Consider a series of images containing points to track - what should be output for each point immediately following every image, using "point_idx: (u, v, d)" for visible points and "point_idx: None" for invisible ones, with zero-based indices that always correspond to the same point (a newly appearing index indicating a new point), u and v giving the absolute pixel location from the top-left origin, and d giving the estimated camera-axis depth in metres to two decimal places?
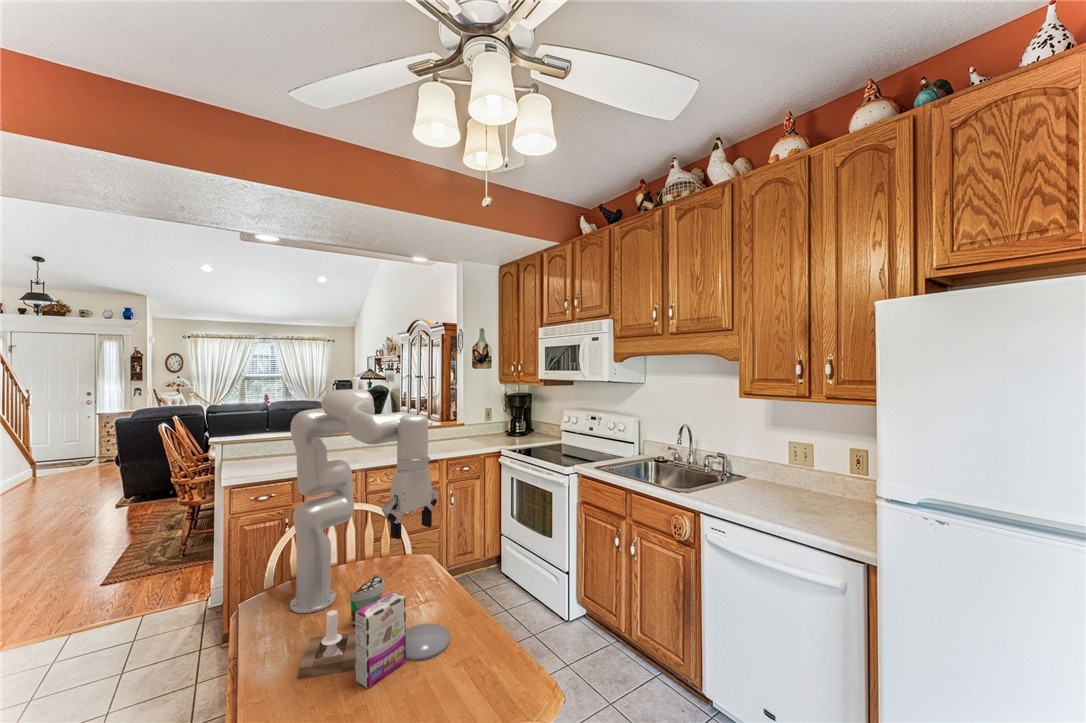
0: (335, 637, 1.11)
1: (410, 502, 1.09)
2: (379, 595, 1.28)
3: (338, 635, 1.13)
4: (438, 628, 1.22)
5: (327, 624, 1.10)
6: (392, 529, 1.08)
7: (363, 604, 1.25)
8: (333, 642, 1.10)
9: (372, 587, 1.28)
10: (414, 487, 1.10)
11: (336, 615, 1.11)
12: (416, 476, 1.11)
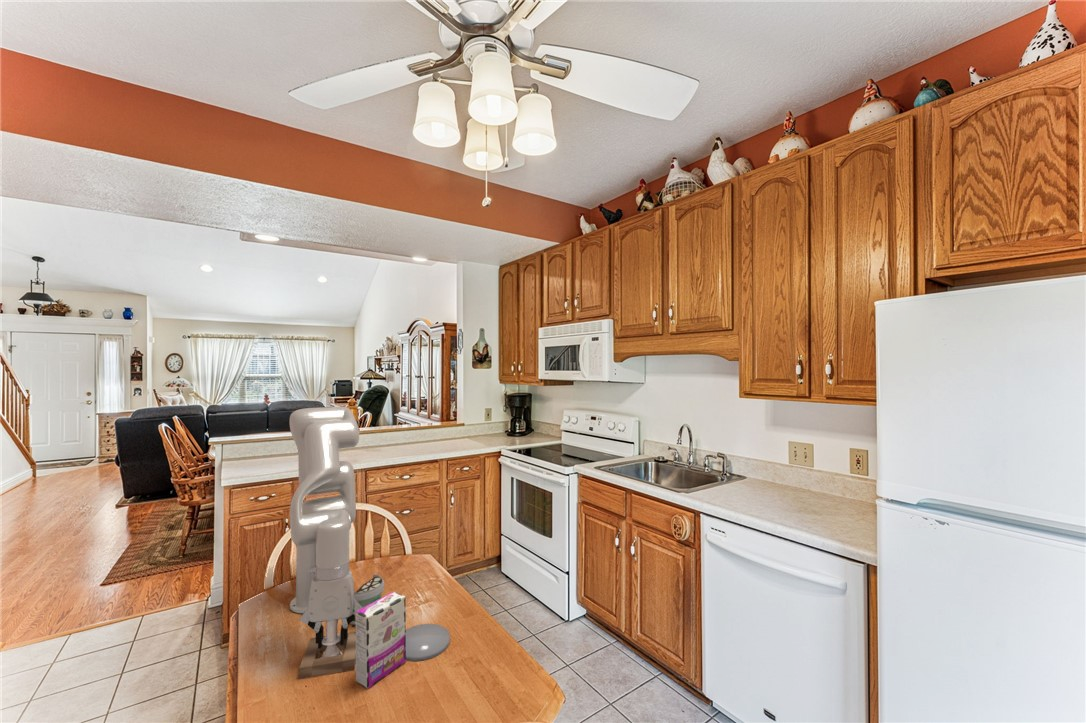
0: (335, 637, 1.11)
1: None
2: (379, 595, 1.28)
3: (338, 635, 1.12)
4: (438, 628, 1.22)
5: (327, 624, 1.10)
6: (347, 631, 1.12)
7: (363, 604, 1.25)
8: (333, 642, 1.10)
9: (372, 587, 1.28)
10: None
11: None
12: None
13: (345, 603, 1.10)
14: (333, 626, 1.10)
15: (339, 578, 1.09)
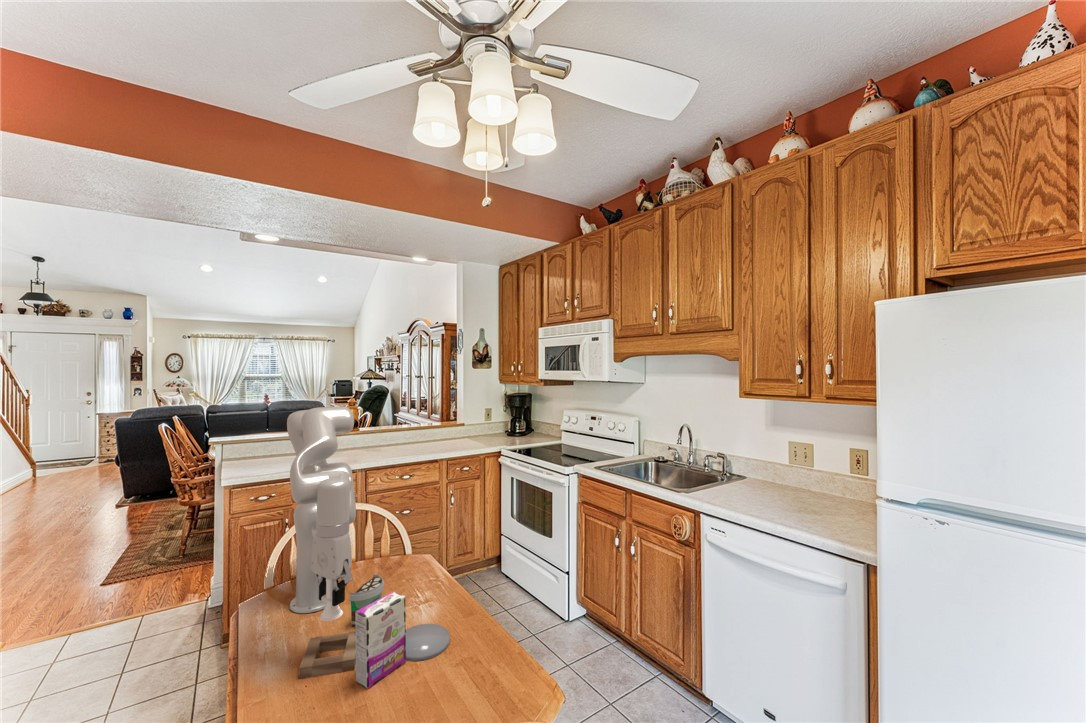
0: (331, 596, 1.11)
1: None
2: (379, 595, 1.28)
3: None
4: (438, 628, 1.22)
5: None
6: (341, 595, 1.10)
7: (363, 604, 1.25)
8: (327, 600, 1.10)
9: (372, 587, 1.28)
10: None
11: None
12: None
13: (331, 565, 1.08)
14: (329, 584, 1.11)
15: (326, 538, 1.08)
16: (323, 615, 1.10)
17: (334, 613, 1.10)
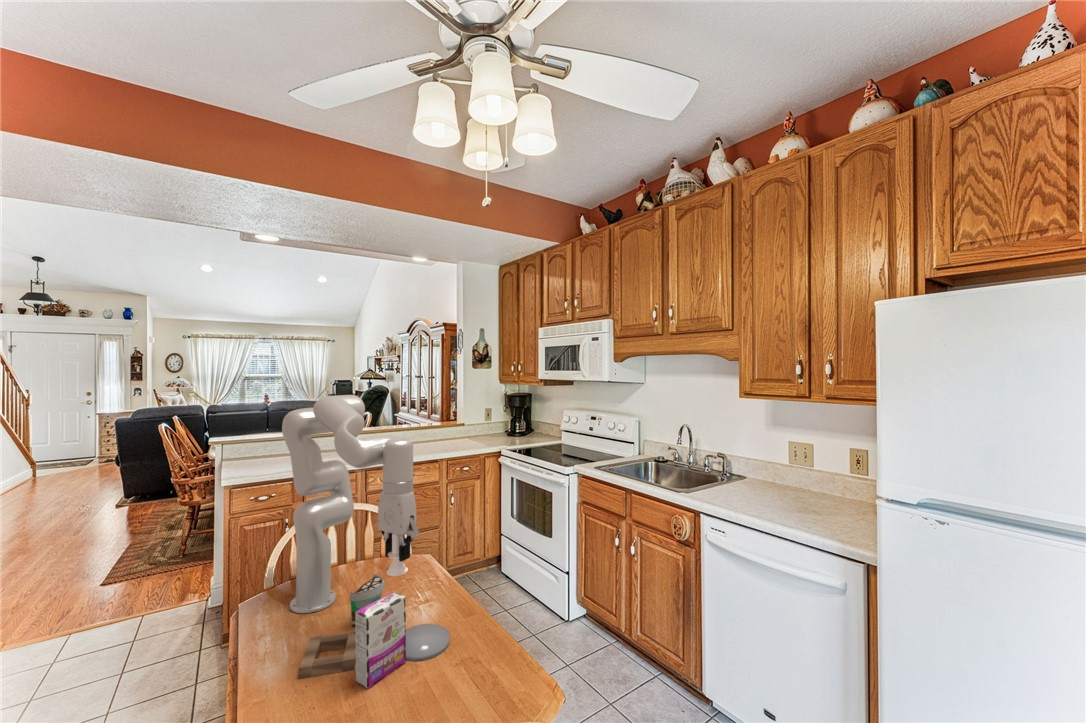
0: (397, 552, 1.14)
1: None
2: (379, 595, 1.28)
3: None
4: (438, 628, 1.22)
5: (392, 537, 1.15)
6: (407, 551, 1.14)
7: (363, 604, 1.25)
8: (393, 555, 1.14)
9: (372, 587, 1.28)
10: None
11: None
12: None
13: (398, 520, 1.12)
14: (395, 540, 1.14)
15: (393, 494, 1.12)
16: (390, 571, 1.14)
17: (400, 569, 1.14)
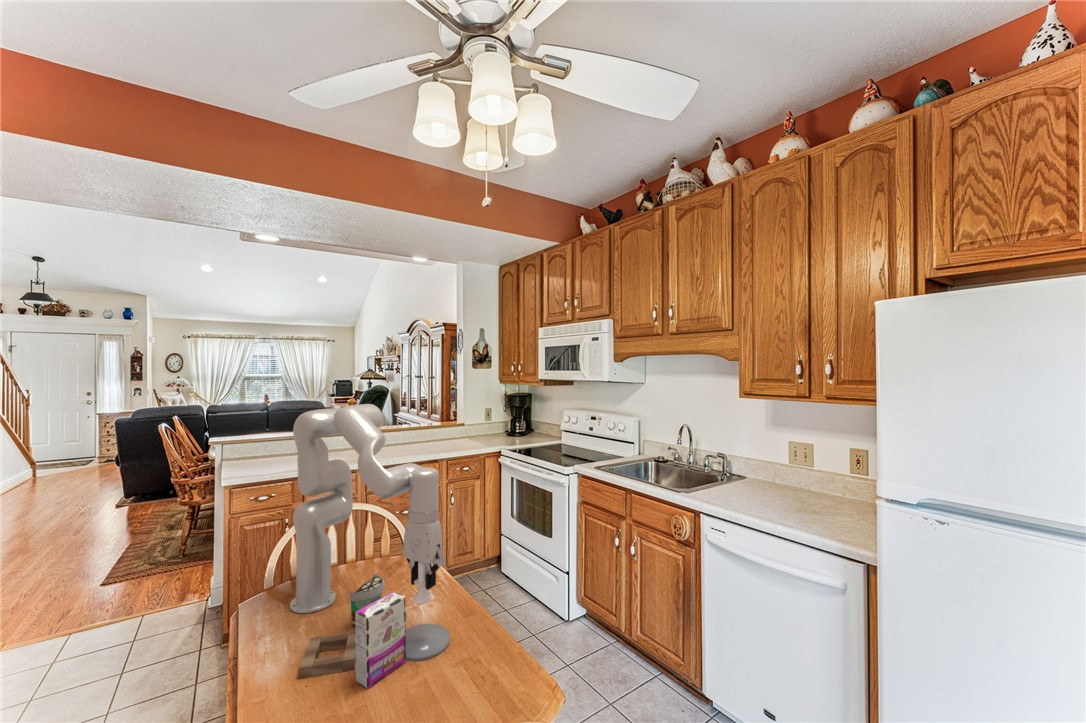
0: (423, 580, 1.16)
1: None
2: (379, 595, 1.28)
3: None
4: (438, 628, 1.22)
5: (418, 565, 1.17)
6: (433, 579, 1.16)
7: (363, 604, 1.25)
8: (420, 583, 1.16)
9: (372, 587, 1.28)
10: None
11: None
12: None
13: (426, 549, 1.14)
14: (421, 568, 1.16)
15: (421, 524, 1.14)
16: (416, 598, 1.16)
17: (427, 596, 1.16)
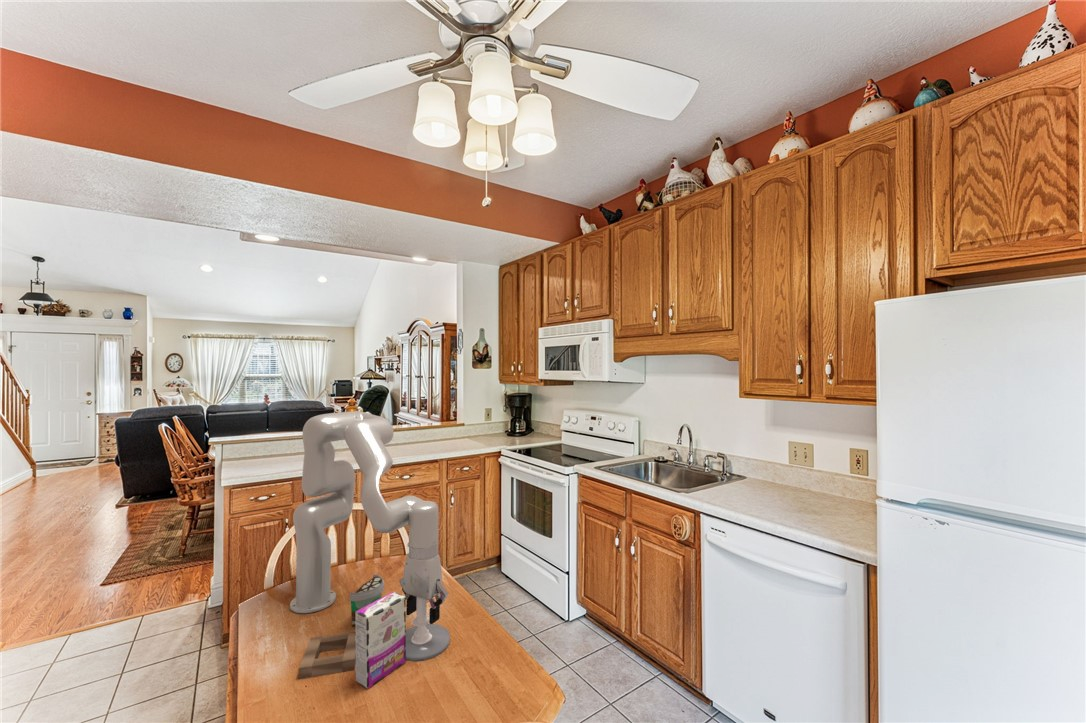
0: (422, 620, 1.16)
1: None
2: (379, 595, 1.28)
3: (428, 619, 1.18)
4: (438, 628, 1.22)
5: None
6: (437, 613, 1.15)
7: (363, 604, 1.25)
8: (418, 624, 1.15)
9: (372, 587, 1.28)
10: None
11: (423, 599, 1.16)
12: None
13: (425, 585, 1.13)
14: (420, 609, 1.16)
15: (420, 559, 1.14)
16: (415, 639, 1.16)
17: (425, 636, 1.16)
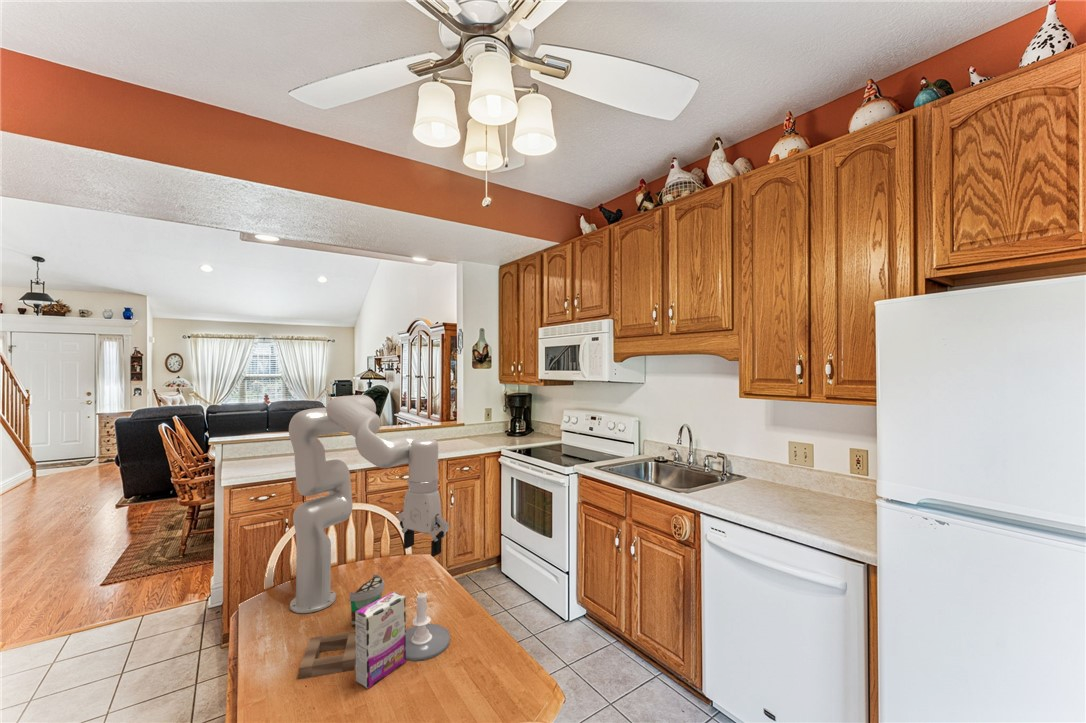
0: (422, 620, 1.16)
1: None
2: (379, 595, 1.28)
3: (428, 619, 1.18)
4: (438, 628, 1.22)
5: None
6: (439, 546, 1.15)
7: (363, 604, 1.25)
8: (419, 624, 1.16)
9: (372, 587, 1.28)
10: None
11: (423, 599, 1.16)
12: None
13: (425, 519, 1.14)
14: (420, 609, 1.16)
15: (420, 493, 1.14)
16: (415, 639, 1.16)
17: (425, 637, 1.16)
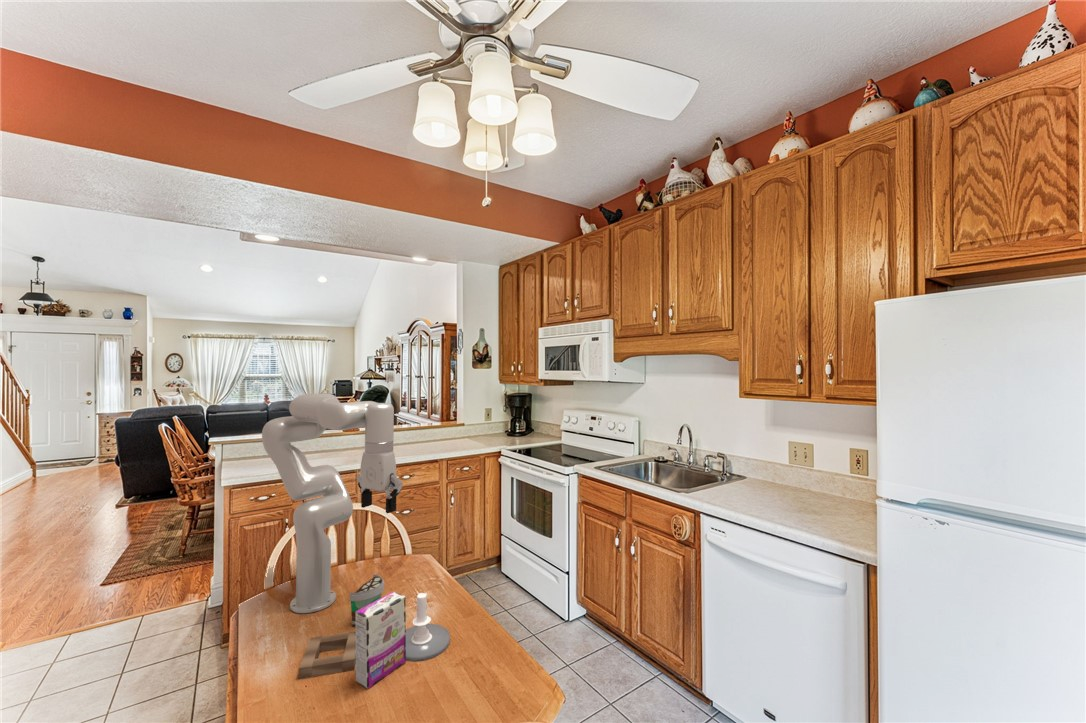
0: (422, 620, 1.16)
1: None
2: (379, 595, 1.28)
3: (428, 619, 1.18)
4: (438, 628, 1.22)
5: None
6: (393, 503, 1.21)
7: (363, 604, 1.25)
8: (419, 624, 1.16)
9: (372, 587, 1.28)
10: None
11: (423, 599, 1.17)
12: None
13: (379, 477, 1.20)
14: (420, 609, 1.16)
15: (375, 453, 1.20)
16: (415, 639, 1.16)
17: (425, 636, 1.16)
